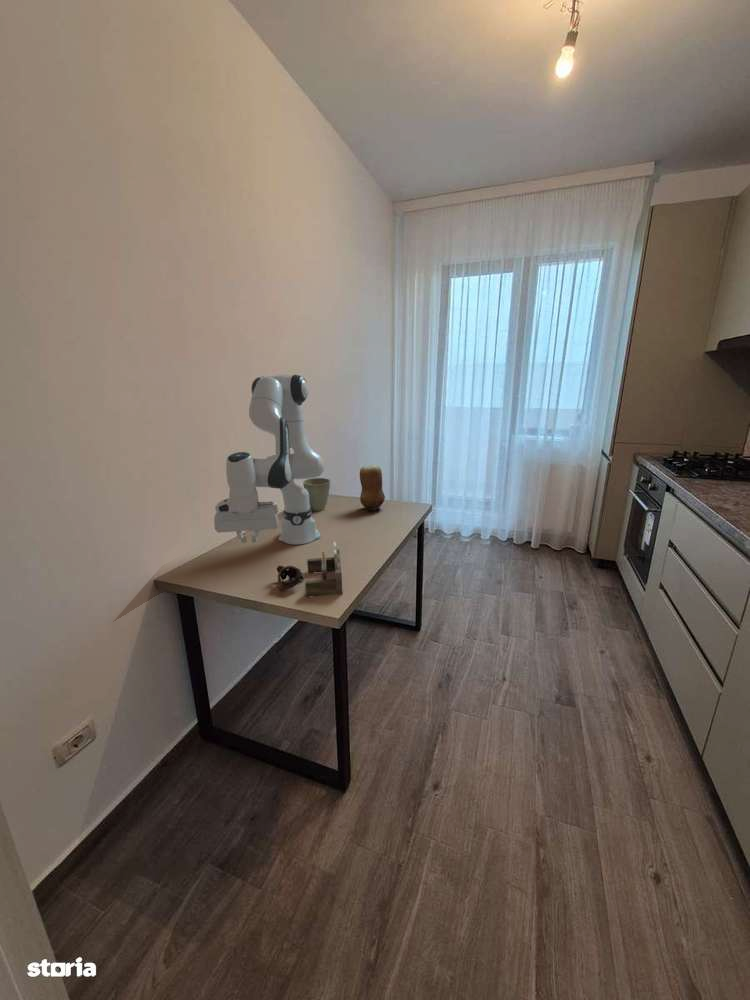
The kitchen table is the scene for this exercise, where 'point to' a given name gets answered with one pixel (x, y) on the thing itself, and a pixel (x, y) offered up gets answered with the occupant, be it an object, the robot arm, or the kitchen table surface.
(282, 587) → the pottery mug
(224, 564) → the kitchen table surface
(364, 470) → the butternut squash
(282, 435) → the robot arm
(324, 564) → the grey flat panel
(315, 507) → the plant pot
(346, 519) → the kitchen table surface
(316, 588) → the stand
